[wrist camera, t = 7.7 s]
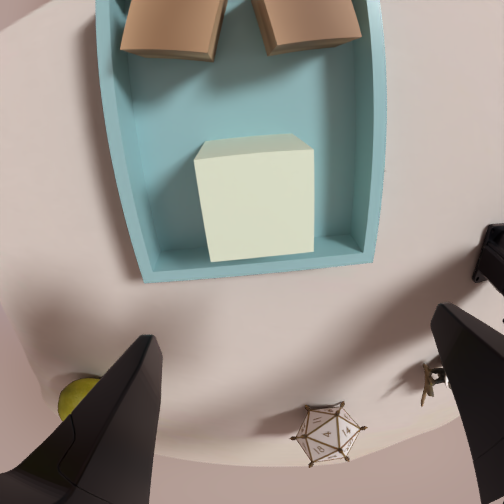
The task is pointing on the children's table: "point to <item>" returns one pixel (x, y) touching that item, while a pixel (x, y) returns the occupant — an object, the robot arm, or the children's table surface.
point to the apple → (74, 395)
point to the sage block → (256, 196)
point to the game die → (327, 434)
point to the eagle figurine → (433, 381)
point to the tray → (243, 125)
